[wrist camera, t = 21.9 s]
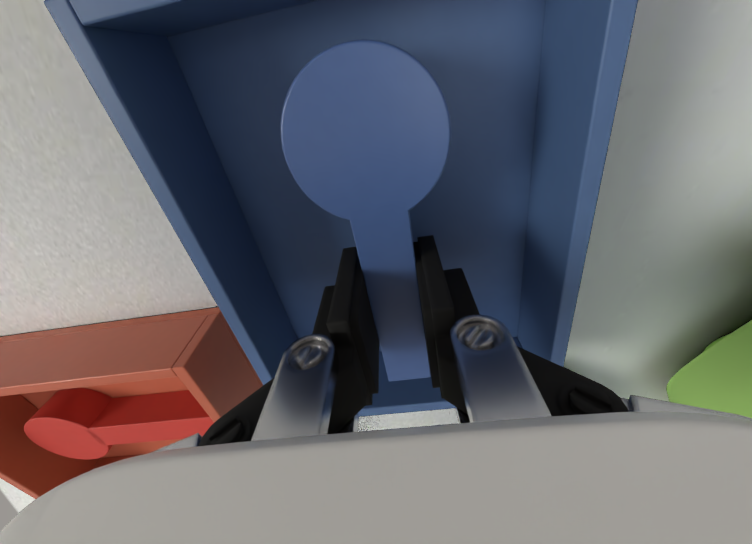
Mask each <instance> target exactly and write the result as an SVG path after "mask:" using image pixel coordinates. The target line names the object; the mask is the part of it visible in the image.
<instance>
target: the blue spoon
mask: <svg viewBox="0 0 752 544" xmlns="http://www.w3.org/2000/svg"><path fill="white" fill-rule="evenodd" d="M280 129H281V143H282V149H283V153H284V157H285V160H286V163H287V165H288V168H289V170H290V172H291V174H292V176H293V178H294V179H295V181H296V182H297V184H298V185H299V187H300V188H301V189H302V190H303V192H304V193H305V194H306V195H307V196H308V197H309V198H310V199H311V200H312V201H313V202H314V203H316V204H317V205H318V206H320V207H321V208H323V209H324V210H326V211H328V212H330V213H331V214H333V215H336V216H338V217H341V218H344V219H348V220H350V224H351V228H352V232H353V236H354V240H355V244H356V248H357V252H358V257H359V261H360V265H361V269H362V272H363V276H364V280H365V285H366V289H367V293H368V297H369V301H370V305H371V309H372V314H373V318H374V322H375V326H376V330H377V334H378V338H379V343H380V347H381V351H382V355H383V360H384V364H385V368H386V372H387V376H388V380H389V381H399V380H409V379H418V378H428V377H431V373H430V366H429V360H428V353H427V347H426V340H425V333H424V325H423V318H422V310H421V303H420V295H419V288H418V280H417V273H416V265H415V263H416V260H415V253H414V245H413V238H412V230H411V222H410V215H409V210H410V209H412V208H413V207H415V206H416V205H417V204H419V203H420V202H421V201H422V200H423V199H424V198H425V197H426V196H427V195H428V194H429V193H430V192H431V190H432V189H433V188H434V186H435V185H436V183H437V182H438V180H439V178H440V176H441V174H442V172H443V170H444V167H445V165H446V162H447V159H448V155H449V150H450V143H451V122H450V115H449V111H448V106H447V103H446V100H445V98H444V95H443V92H442V90H441V88H440V87H439V85H438V83H437V81H436V80H435V78H434V77H433V75H432V74H431V73H430V71H429V70H428V69H427V68H426V67H425V66H424V65H423V64H422V63H421V62H420V61H419V60H418V59H416V58H415V57H414V56H412V55H411V54H410V53H408V52H407V51H405V50H403V49H401V48H399V47H397V46H395V45H392V44H389V43H386V42H382V41H376V40H361V39H359V40H352V41H346V42H343V43H339V44H336V45H333V46H331V47H329V48H327V49H325V50H323V51H322V52H320V53H319V54H318V55H316V56H315V57H313V58H312V59H311V60H310V61H309V62H308V63H307V64H306V65H305V66H304V67H303V68H302V69H301V71H300V72H299V73H298V75H297V76H296V77H295V79H294V81H293V82H292V84H291V86H290V88H289V90H288V93H287V95H286V98H285V101H284V105H283V109H282V115H281V123H280Z"/></svg>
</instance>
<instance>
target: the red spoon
mask: <svg viewBox="0 0 752 544" xmlns="http://www.w3.org/2000/svg"><path fill="white" fill-rule="evenodd" d="M213 423H214V422H213V420H212V419H211V418H210V417H209V415H208V414H207V413H206V411H205V410H204V409H203V408H202V406H201V405H200V404H199V402H198V401H197V400H196V399H195V397H194V396H193V395H192V394H191V392H190V391H189V390H185V391H176V392H166V393H157V394H147V395H138V396H128V397H119V398H112V397H110V396H108V395H106V394H103V393H101V392H98V391H95V390H91V389H86V388H71V389H62V390H59V391H57V392H56V393H55V394H54V395H53V396H52V397H51V398H50V399H49V400H48V401H47V402H46V403H45V404H44V405H43V406H42V407H41V408H40V409H39V410H38V411H37V412H36V413H35V414H34V415H33V416H32V417H31V418H30V419H29V420H28V421H27V422H26V423H25V426H24V431H25V433H26V435H27V436H28V438H29V439H31V440H32V441H33V442H34V443H36V444H37V445H39V446H40V447H42V448H44V449H46V450H48V451H50V452H53V453H55V454H58V455H61V456H65V457H69V458H75V459H86V460H89V459H98V458H101V457H103V456H105V455H106V454H107V453H108V452H109V450H110V449H111V447H112V446H113V445H116V444H128V443H139V442H151V441H162V440H174V439H184V438H187V437H189V436H192V435H194V434H197V433H199V434H200V435H201V436H203V435H204V434H205V432H206V431H207V430H208V429H209V427H210V426H211V425H212V424H213Z"/></svg>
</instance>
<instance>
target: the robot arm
mask: <svg viewBox="0 0 752 544" xmlns="http://www.w3.org/2000/svg"><path fill="white" fill-rule="evenodd" d="M417 239H418V241H416V242H413V245H414V253H415V260H416V263H415V265H416V273H417V280H418V288H419V295H420V303H421V310H422V318H423V325H424V333H425V340H426V347H427V353H428V360H429V366H430V373H431V380H432V386H433V388H439V387H440V392H441V398H443V399H445V400H446V401H448V402H449V403H451V404H452V405H454V406H455V407H456V413H457V418H458V422H459V424H447V425H435V426H422V427H410V428H398V429H386V430H374V431H362V432H358V424H359V417H358V412H359V411H360V410H361V409H362V408H364V407H365V406H367V405H372V398H373V394H377V393H378V391H379V338H378V334H377V330H376V326H375V322H374V318H373V314H372V309H371V305H370V301H369V297H368V293H367V289H366V285H365V280H364V276H363V272H362V269H361V265H360V261H359V257H358V252H357V248H356V247H349V248H343V251H342V255H341V260H340V265H339V269H338V274H337V278H336V283H335V285H332V286H326V287H325V288H324V291H323V295H322V299H321V303H320V306H319V310H318V314H317V318H316V321H315V325H314V329H313V333H312V334H311V335H306V336H304V337H301V338H299V339H297V340H296V341H294V342H293V343H291V345H290V346H289V347H288V348H287V349H286V350H285V352H284V354H283V356H282V359H281V361H280V364H279V367H278V369H277V372H276V375H275V377H274V378H273V379H271V380H270V381H269V382H267V383H266V384H265V385H263V386H262V387H261V388H259V389H258V390H257V391H255V392H254V393H253V394H251V395H250V396H249V397H247V398H246V399H245V400H243V401H242V402H241V403H239V404H238V405H237V406H235V407H234V408H232V409H231V410H230V411H228V412H227V413H226V414H224V415H223V416H222V417H220V418H219V419H218V420H217V421H216V422H214V423H213V424H212V425H211V426H210V427H209V429H208V430H207V431H206V432H205V434H204V435H203V436H201V435H200V434H199V433H197V434H194V435H192V436H189V437H187V438H184V439H182V440H180V441H177V442H175V443H172V444H170V445H167V446H165V447H163V448H160V449H158V450H155V451H153V452H150V453H148V454H144V455H139V456H135V457H130V458H126V459H122V460H119V461H116V462H113V463H110V464H107V465H104V466H101V467H98V468H95V469H93V470H90V471H88V472H86V473H84V474H81V475H79V476H77V477H74V478H72V479H70V480H68V481H66V482H64V483H62V484H60V485H59V486H57V487H55V488H53V489H52V490H50V491H48V492H47V493H45V494H43V495H42V496H40V497H38V498H37V499H36V500H34V501H33V502H32V503H30V504H29V505H28V506H26V507H25V508H24V509H23V510H22V511H20V512H19V513H18V514H17V515H16V516H15V517H14V518H13V519H12V520H11V521H10V522H9V523H8V524H7V525H6V526H5V527H4V528H3V529H2V530H1V531H0V544H752V418H749V417H746V416H742V415H738V414H733V413H727V412H722V411H716V410H711V409H705V408H700V407H695V406H689V405H684V404H678V403H673V402H667V401H662V400H656V399H651V398H646V397H640V396H635V395H630V397H629V399H624V398H620V397H618V396H617V395H616V394H615V393H614V392H613V391H612V390H610V389H608V388H607V387H605V386H603V385H601V384H599V383H597V382H595V381H593V380H591V379H588V378H586V377H584V376H582V375H580V374H577V373H575V372H573V371H571V370H569V369H566V368H564V367H562V366H560V365H558V364H555V363H553V362H551V361H549V360H547V359H544V358H542V357H540V356H538V355H535V354H533V353H531V352H529V351H527V350H524V349H522V348H520V347H518V346H516V344H515V342H514V340H513V338H512V336H511V334H510V332H509V330H508V328H507V327H506V326H505V324H504V323H502V322H501V321H499V320H498V319H496V318H493V317H491V316H487V315H480V314H479V311H478V308H477V306H476V303H475V301H474V298H473V295H472V293H471V290H470V288H469V285H468V282H467V280H466V277H465V275H464V272H463V270H462V268H456V269H449V270H443V267H442V264H441V260H440V257H439V253H438V250H437V247H436V243H435V240H434V236H433V235H429V236H422V237H417Z"/></svg>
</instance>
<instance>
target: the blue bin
mask: <svg viewBox="0 0 752 544" xmlns="http://www.w3.org/2000/svg"><path fill="white" fill-rule="evenodd" d="M637 3H638V0H45V1H44V4H45V5H46V7H47V9H48V11H49V12H50V14H51V16H52V18H53V19H54V21H55V23H56V25H57V26H58V28H59V30H60V32H61V33H62V35H63V37H64V39H65V40H66V42H67V44H68V45H69V47H70V49H71V51H72V52H73V54H74V56H75V58H76V59H77V61H78V63H79V65H80V66H81V68H82V70H83V72H84V73H85V75H86V77H87V79H88V80H89V82H90V84H91V86H92V87H93V89H94V91H95V93H96V94H97V96H98V98H99V100H100V101H101V103H102V105H103V106H104V108H105V110H106V112H107V113H108V115H109V117H110V119H111V120H112V122H113V124H114V126H115V127H116V129H117V131H118V133H119V134H120V136H121V138H122V140H123V141H124V143H125V145H126V147H127V148H128V150H129V152H130V154H131V155H132V157H133V159H134V161H135V162H136V164H137V166H138V168H139V169H140V171H141V173H142V174H143V176H144V178H145V180H146V181H147V183H148V185H149V187H150V188H151V190H152V192H153V194H154V195H155V197H156V199H157V201H158V202H159V204H160V206H161V208H162V209H163V211H164V213H165V215H166V216H167V218H168V220H169V222H170V223H171V225H172V227H173V229H174V230H175V232H176V234H177V235H178V237H179V239H180V241H181V242H182V244H183V246H184V248H185V249H186V251H187V253H188V255H189V256H190V258H191V260H192V262H193V263H194V265H195V267H196V269H197V270H198V272H199V274H200V276H201V277H202V279H203V281H204V283H205V284H206V286H207V288H208V290H209V291H210V293H211V295H212V297H213V298H214V300H215V302H216V303H217V305H218V307H219V309H220V310H221V312H222V314H223V316H224V317H225V319H226V321H227V323H228V324H229V326H230V328H231V330H232V331H233V333H234V335H235V337H236V338H237V340H238V342H239V344H240V345H241V347H242V349H243V351H244V352H245V354H246V356H247V358H248V359H249V361H250V363H251V364H252V366H253V368H254V370H255V371H256V373H257V375H258V377H259V378H260V380H261V382H262V384H263V385H265V384H266V383H267V382H269V381H270V380H271V379H273V378H274V377H275V375H276V372H277V369H278V367H279V364H280V361H281V359H282V356H283V354H284V352H285V350H286V349H287V348H288V347H289V346H290V345H291V343H293V342H294V341H296V340H297V339H299V338H301V337H304V336H306V335H311V334H312V333H313V329H314V325H315V321H316V318H317V314H318V310H319V306H320V303H321V299H322V295H323V291H324V288H325V287H326V286H332V285H335V283H336V278H337V274H338V269H339V265H340V260H341V255H342V251H343V248H349V247H356V244H355V240H354V236H353V232H352V228H351V224H350V220H348V219H344V218H341V217H338V216H336V215H333V214H331V213H330V212H328V211H326V210H324V209H323V208H321V207H320V206H318V205H317V204H316V203H314V202H313V201H312V200H311V199H310V198H309V197H308V196H307V195H306V194H305V193H304V192H303V190H302V189H301V188H300V187H299V185H298V184H297V182H296V181H295V179H294V178H293V176H292V174H291V172H290V170H289V168H288V165H287V163H286V160H285V157H284V153H283V149H282V143H281V129H280V123H281V115H282V109H283V105H284V101H285V98H286V95H287V93H288V90H289V88H290V86H291V84H292V82H293V81H294V79H295V77H296V76H297V75H298V73H299V72H300V71H301V69H302V68H303V67H304V66H305V65H306V64H307V63H308V62H309V61H310V60H311V59H312V58H313V57H315V56H316V55H318V54H319V53H320V52H322V51H323V50H325V49H327V48H329V47H331V46H333V45H336V44H339V43H343V42H346V41H352V40H359V39H361V40H376V41H382V42H386V43H389V44H392V45H395V46H397V47H399V48H401V49H403V50H405V51H407V52H408V53H410V54H411V55H412V56H414V57H415V58H416V59H418V60H419V61H420V62H421V63H422V64H423V65H424V66H425V67H426V68H427V69H428V70H429V71H430V73H431V74H432V75H433V77H434V78H435V80H436V81H437V83H438V85H439V87H440V88H441V90H442V92H443V95H444V98H445V100H446V103H447V106H448V111H449V115H450V122H451V143H450V150H449V155H448V159H447V162H446V165H445V167H444V170H443V172H442V174H441V176H440V178H439V180H438V182H437V183H436V185H435V186H434V188H433V189H432V190H431V192H430V193H429V194H428V195H427V196H426V197H425V198H424V199H423V200H422V201H421V202H420V203H419V204H417V205H416V206H415V207H413V208H412V209H410V210H409V215H410V222H411V230H412V238H413V242H416V241H418V239H417V237H422V236H429V235H433V236H434V240H435V243H436V247H437V250H438V253H439V257H440V260H441V264H442V267H443V270H449V269H456V268H462V270H463V272H464V275H465V277H466V280H467V282H468V285H469V288H470V290H471V293H472V295H473V298H474V301H475V303H476V306H477V308H478V311H479V314H480V315H487V316H491V317H493V318H496V319H498V320H499V321H501V322H502V323H504V324H505V326H506V327H507V328H508V330H509V332H510V334H511V336H512V338H513V340H514V342H515V344H516V346H518V347H520V348H522V349H524V350H527V351H529V352H531V353H533V354H535V355H538V356H540V357H542V358H544V359H547V360H549V361H551V362H553V363H555V364H558V365H560V366H562V367H563V366H564V361H565V356H566V351H567V346H568V341H569V337H570V332H571V327H572V322H573V317H574V312H575V307H576V302H577V297H578V292H579V287H580V283H581V278H582V273H583V268H584V263H585V258H586V253H587V248H588V243H589V238H590V234H591V229H592V224H593V219H594V214H595V209H596V204H597V199H598V194H599V189H600V185H601V180H602V175H603V170H604V165H605V160H606V155H607V150H608V145H609V140H610V135H611V131H612V126H613V121H614V116H615V111H616V106H617V101H618V96H619V91H620V86H621V82H622V77H623V72H624V67H625V62H626V57H627V52H628V47H629V42H630V37H631V33H632V28H633V23H634V18H635V13H636V8H637ZM450 408H456V407H455V406H454V405H452V404H451V403H449V402H448V401H446V400H445V399H443V398H441V392H440V387H439V388H433V386H432V380H431V377H428V378H418V379H409V380H399V381H389V380H388V376H387V372H386V368H385V364H384V360H383V355H382V351H381V347H380V343H379V391H378V393H377V394H373V398H372V405H367V406H365V407H364V408H362V409H361V410H360V411H359V412H358V417H360V416H372V415H383V414H394V413H405V412H416V411H427V410H438V409H450Z"/></svg>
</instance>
